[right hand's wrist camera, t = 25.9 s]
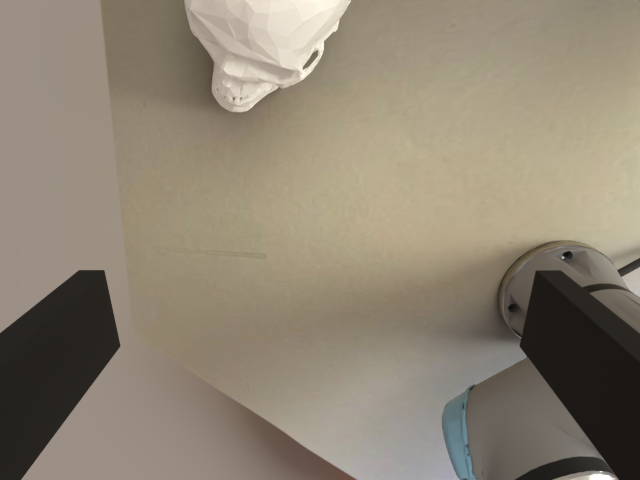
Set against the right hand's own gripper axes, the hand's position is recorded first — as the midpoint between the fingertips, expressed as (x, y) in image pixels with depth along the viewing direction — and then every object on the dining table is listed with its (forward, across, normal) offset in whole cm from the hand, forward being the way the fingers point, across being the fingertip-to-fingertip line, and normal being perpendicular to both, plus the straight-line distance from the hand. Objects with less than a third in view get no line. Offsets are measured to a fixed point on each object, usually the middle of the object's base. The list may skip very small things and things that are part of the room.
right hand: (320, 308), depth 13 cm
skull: (+39, +5, -13) cm, 42 cm away
